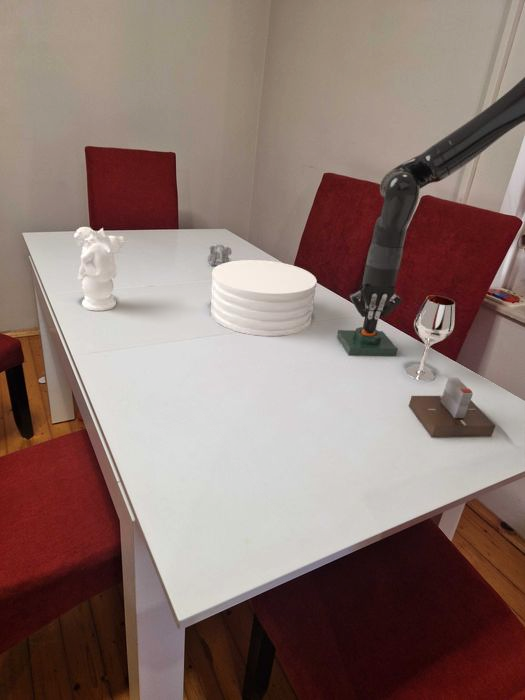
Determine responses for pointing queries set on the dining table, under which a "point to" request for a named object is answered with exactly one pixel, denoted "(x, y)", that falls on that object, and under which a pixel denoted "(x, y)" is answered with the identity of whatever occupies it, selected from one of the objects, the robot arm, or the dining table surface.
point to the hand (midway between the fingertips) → (368, 331)
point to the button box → (366, 343)
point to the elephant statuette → (219, 254)
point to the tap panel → (450, 419)
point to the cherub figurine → (97, 267)
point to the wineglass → (432, 329)
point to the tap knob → (456, 397)
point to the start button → (368, 333)
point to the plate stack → (262, 297)
